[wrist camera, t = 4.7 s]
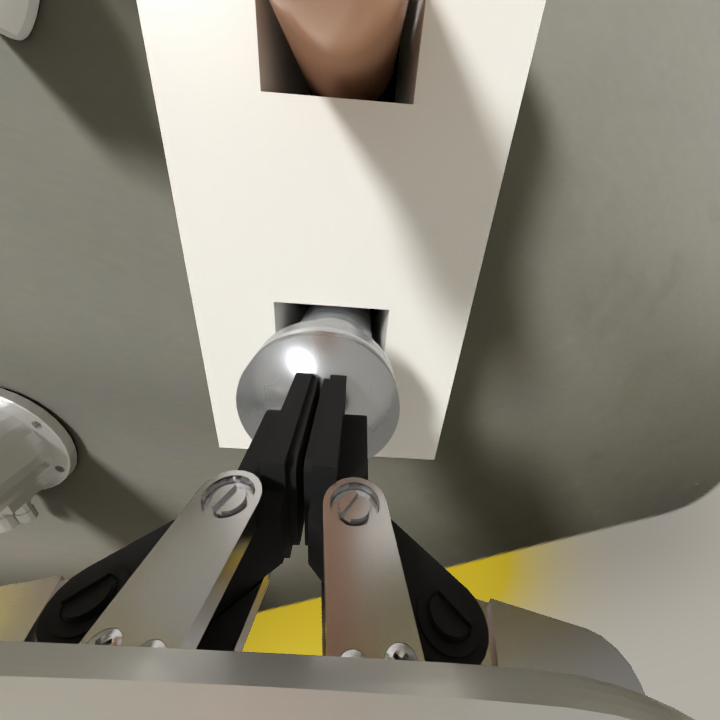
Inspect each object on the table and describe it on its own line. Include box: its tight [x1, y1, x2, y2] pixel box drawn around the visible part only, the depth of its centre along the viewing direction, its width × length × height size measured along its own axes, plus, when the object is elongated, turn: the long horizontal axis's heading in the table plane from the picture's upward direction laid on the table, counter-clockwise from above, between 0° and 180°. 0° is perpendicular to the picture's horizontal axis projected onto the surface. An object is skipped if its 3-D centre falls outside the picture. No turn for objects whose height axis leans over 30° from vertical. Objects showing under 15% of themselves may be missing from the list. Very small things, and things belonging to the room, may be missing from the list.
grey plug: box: [236, 304, 400, 459], centre depth 17 cm, size 6×6×14 cm
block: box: [136, 0, 546, 460], centre depth 16 cm, size 24×12×10 cm, turn 176°
